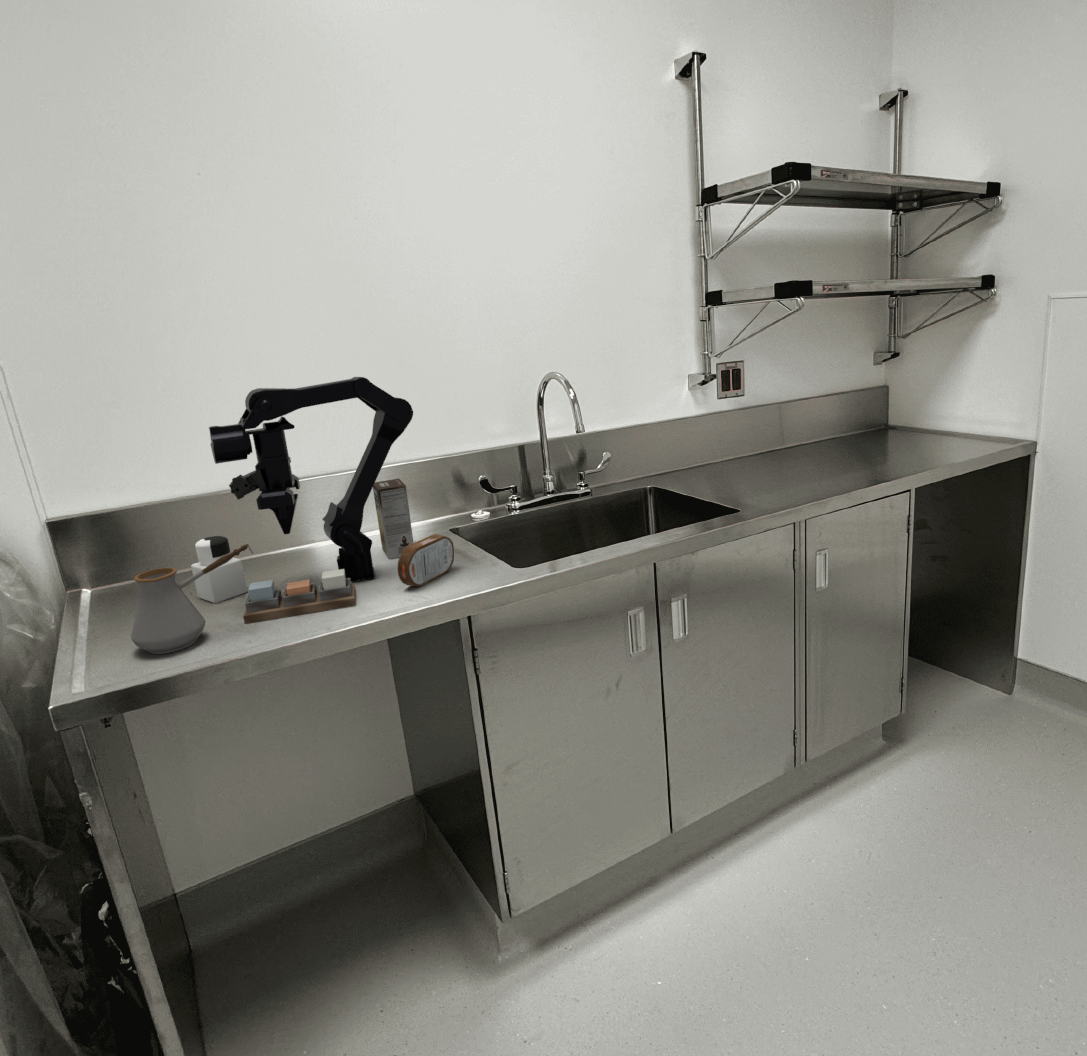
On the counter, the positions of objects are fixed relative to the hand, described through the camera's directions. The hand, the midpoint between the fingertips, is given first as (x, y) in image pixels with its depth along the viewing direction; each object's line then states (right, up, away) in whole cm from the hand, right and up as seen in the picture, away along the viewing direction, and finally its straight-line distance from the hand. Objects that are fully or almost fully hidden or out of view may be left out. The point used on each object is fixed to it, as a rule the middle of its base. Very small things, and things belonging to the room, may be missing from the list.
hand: (287, 533), depth 144 cm
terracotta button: (+5, -12, -6) cm, 15 cm away
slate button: (-2, -12, -8) cm, 15 cm away
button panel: (+5, -14, -6) cm, 16 cm away
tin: (+28, -9, +3) cm, 29 cm away
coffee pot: (-9, -18, -16) cm, 26 cm away
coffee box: (+17, -5, +24) cm, 30 cm away
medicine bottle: (-15, -13, +5) cm, 20 cm away
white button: (+11, -10, -5) cm, 16 cm away
